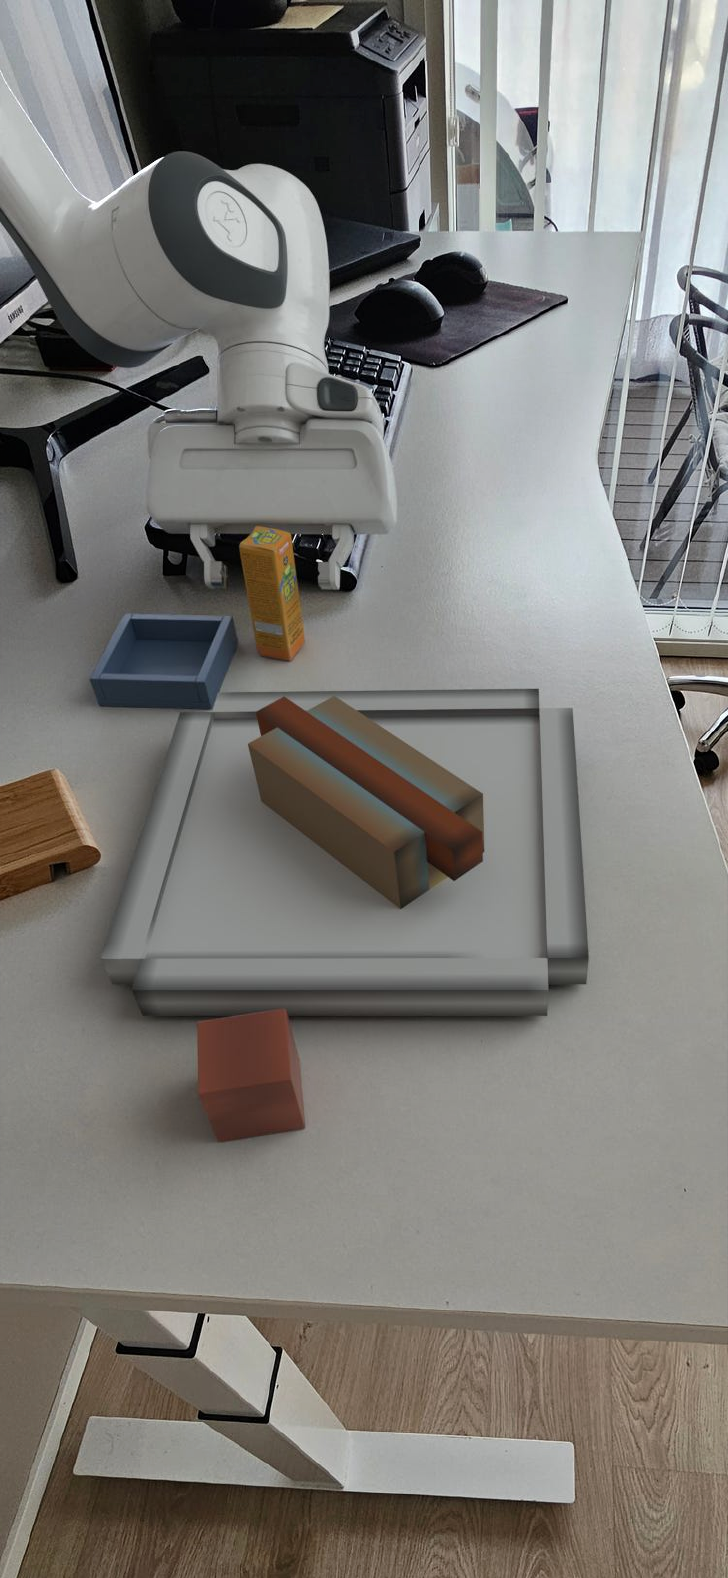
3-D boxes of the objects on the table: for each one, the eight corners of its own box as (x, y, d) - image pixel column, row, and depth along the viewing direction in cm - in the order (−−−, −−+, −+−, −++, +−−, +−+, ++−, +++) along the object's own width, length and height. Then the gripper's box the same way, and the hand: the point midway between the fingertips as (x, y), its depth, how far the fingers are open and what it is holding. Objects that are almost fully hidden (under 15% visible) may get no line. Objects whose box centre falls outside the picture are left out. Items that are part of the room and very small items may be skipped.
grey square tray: (106, 1021, 65) (65, 941, 59) (195, 725, 83) (172, 642, 77) (587, 1022, 63) (595, 940, 58) (569, 721, 82) (574, 636, 76)
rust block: (218, 1142, 59) (197, 1094, 55) (216, 1072, 62) (196, 1021, 58) (305, 1128, 59) (291, 1079, 55) (299, 1059, 62) (285, 1007, 59)
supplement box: (294, 663, 88) (273, 549, 80) (257, 656, 89) (233, 543, 81) (309, 641, 90) (290, 529, 82) (274, 635, 91) (252, 523, 83)
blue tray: (98, 705, 85) (88, 678, 83) (132, 640, 91) (123, 613, 89) (211, 709, 85) (204, 681, 83) (238, 642, 91) (232, 615, 88)
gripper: (132, 391, 81) (134, 575, 83) (391, 389, 80) (387, 576, 81) (161, 426, 87) (162, 596, 89) (402, 425, 86) (398, 598, 87)
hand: (272, 587), depth 85 cm, fingers open, 8 cm apart
